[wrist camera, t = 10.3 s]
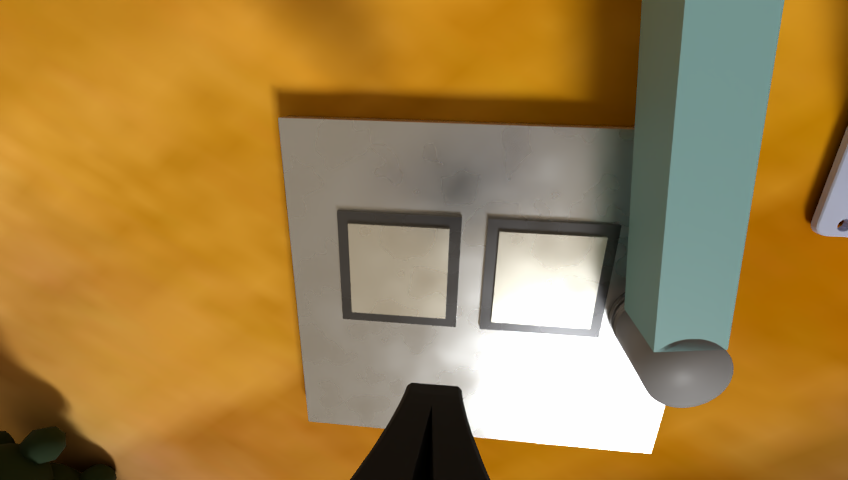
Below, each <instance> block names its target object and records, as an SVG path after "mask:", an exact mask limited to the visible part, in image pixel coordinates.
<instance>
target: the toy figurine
mask: <svg viewBox="0 0 848 480" xmlns="http://www.w3.org/2000/svg"><path fill="white" fill-rule="evenodd" d="M65 447H66V433H64V432H63V431H62V430H60V429H59V428H58V427H56V426H54V427H47V428H42V429H37V430H33V431H32V432H31V433H30V434H29V435H28V436H27V437H26V438H25V439H24V440H23V441H22V442H21V444H16V443H15V441H14V439H13V438H12V437H11V436H10V435H9V434H8V433H7V432H6V431H0V480H116V474H115V471H114V470H113V469H112V468H111V467H110V466H107V465H104V464H97V465H93V466H91V467H90V468H88V469H87V470H85V471H84V472H82V473H80V472H79V471H78V470H76V469H74V468H71V467H69V466H66V465H64V464H59V463H50V462H49V461H52V460H56V458H57V457H58V456H59V455H60V453H61V452H62V451H63V450H64V448H65Z"/></svg>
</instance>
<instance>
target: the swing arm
mask: <svg viewBox="0 0 848 480" xmlns="http://www.w3.org/2000/svg"><path fill="white" fill-rule="evenodd" d="M783 5H784V0H642V8H641V26H640V43H639V61H638V78H637V95H636V113H635V130H634V147H633V165H632V182H631V200H630V217H629V234H628V252H627V269H626V286H625V304H624V309H625V310H624V312H623V313H622V314H621V315H620V317H619V319H618V321H617V324H616V337H617V340H618V342H619V344H620V345H621V347H622V349H623V351H624V352H625V354H626V356H627V358H628V359H629V361H630V363H631V365H632V366H633V368H634V370H635V372H636V373H637V375H638V377H639V379H640V380H641V382H642V384H643V386H644V387H645V389H646V391H647V393H648V394H649V395H650V396H651V397H652V398H653V399H654V400H656V401H657V402H659V403H661V404H664V405H667V406H671V407H678V408H685V407H694V406H698V405H701V404H704V403H706V402H709V401H711V400H712V399H714V398H716V397H717V396H718V395H720V394H721V393H722V392H723V391H724V390H725V388H726V387H727V386H728V384H729V383H730V381H731V378H732V375H733V363H732V359H731V357H730V355H729V354H728V353H727V351H726V350H728V344H729V338H730V332H731V326H732V319H733V313H734V307H735V301H736V295H737V289H738V282H739V276H740V270H741V264H742V258H743V252H744V245H745V239H746V233H747V227H748V221H749V215H750V209H751V202H752V196H753V190H754V184H755V178H756V172H757V165H758V159H759V153H760V147H761V141H762V135H763V129H764V122H765V116H766V110H767V104H768V98H769V92H770V85H771V79H772V73H773V67H774V61H775V55H776V49H777V42H778V36H779V30H780V24H781V18H782V12H783Z"/></svg>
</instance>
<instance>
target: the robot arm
mask: <svg viewBox="0 0 848 480" xmlns="http://www.w3.org/2000/svg"><path fill="white" fill-rule="evenodd" d="M842 220H844V223H843V224H842V226H840V227H839V228H837V225H838V224H839V222H841V221H842ZM811 228H812V230H813V231H814V232H816V233H818V234H820V235H824V236H835V237H848V126H847V129H846V131H845V134H844V137H843V139H842V142H841V144H840V147H839V150H838V152H837V155H836V158H835V160H834V163H833V166H832V168H831V171H830V174H829V176H828V179H827V181H826V184H825V187H824V189H823V192H822V195H821V197H820V200H819V203H818V205H817V208H816V211H815V213H814V216H813V218H812V221H811ZM350 480H490V478H489V476H488V474H487V471H486V469H485V466H484V464H483V462H482V459H481V456H480V454H479V451H478V448H477V446H476V443H475V440H474V438H473V435H472V432H471V429H470V425H469V422H468V418H467V415H466V411H465V407H464V402H463V396H462V390H461V389H460V388H459V387H458V386H448V385H436V384H423V383H410V384H409V385H407V387H406V390H405V392H404V394H403V397H402V399H401V401H400V403H399V405H398V407H397V409H396V411H395V412H394V414H393V416H392V418H391V419H390V421H389V423H388V425H387V426H386V428H385V429H384V431H383V433H382V434H381V436H380V437H379V439H378V441H377V442H376V444H375V445H374V447H373V448H372V450H371V451H370V453H369V454H368V456H367V457H366V458H365V460H364V461H363V463H362V464H361V465H360V467H359V468H358V470H357V471H356V472H355V474H354V475H353V476H352V478H351V479H350Z"/></svg>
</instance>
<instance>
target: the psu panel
mask: <svg viewBox="0 0 848 480" xmlns="http://www.w3.org/2000/svg"><path fill="white" fill-rule="evenodd" d="M278 122H279V132H280V142H281V152H282V161H283V171H284V181H285V191H286V201H287V211H288V221H289V231H290V241H291V251H292V261H293V271H294V280H295V290H296V300H297V310H298V320H299V330H300V340H301V350H302V360H303V370H304V380H305V390H306V400H307V409H308V419H309V421H312V422H322V423H333V424H343V425H354V426H364V427H375V428H386V426H387V425H388V423H389V421H390V419H391V418H392V416H393V414H394V412H395V411H396V409H397V407H398V405H399V403H400V401H401V399H402V397H403V394H404V392H405V390H406V387H407V385H409V384H410V383H423V384H436V385H448V386H458V387H459V388H460V389H461V390H462V396H463V402H464V407H465V411H466V415H467V418H468V422H469V425H470V429H471V432H472V435H473V437H480V438H491V439H501V440H512V441H523V442H533V443H544V444H554V445H565V446H575V447H586V448H596V449H607V450H617V451H628V452H638V453H649V454H651V452H652V448H653V445H654V442H655V438H656V435H657V431H658V428H659V425H660V421H661V418H662V414H663V411H664V408H665V405H664V404H661V403H659V402H657V401H656V400H654V399H653V398H652V397H651V396H650V395H649V394H648V393H647V391H646V389H645V387H644V386H643V384H642V382H641V380H640V379H639V377H638V375H637V373H636V372H635V370H634V368H633V366H632V365H631V363H630V361H629V359H628V358H627V356H626V354H625V352H624V351H623V349H622V347H621V345H620V344H619V342H618V340H617V337H616V324H617V321H618V319H619V317H620V315H621V314H622V313H623V312H624V310H625V309H624V304H625V286H626V269H627V252H628V234H629V217H630V200H631V182H632V165H633V147H634V130H635V127H623V126H592V125H561V124H530V123H499V122H468V121H438V120H407V119H376V118H345V117H314V116H284V117H279V118H278Z"/></svg>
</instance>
